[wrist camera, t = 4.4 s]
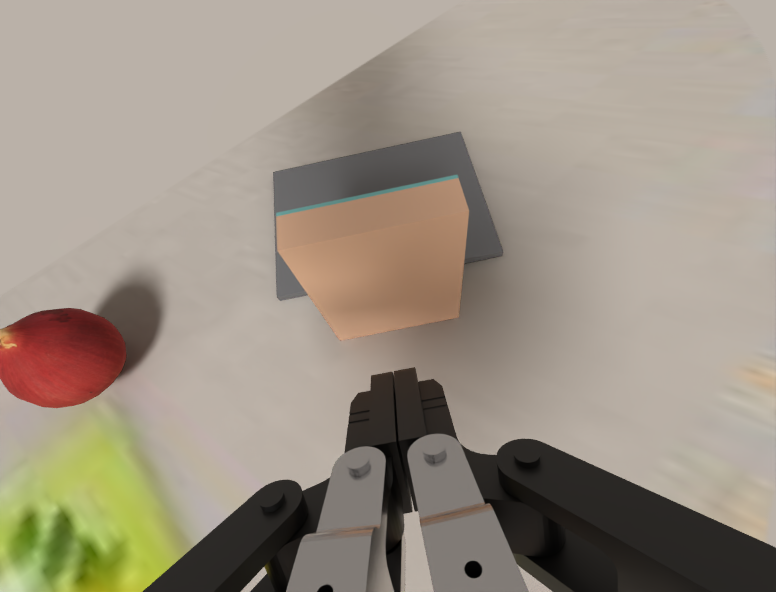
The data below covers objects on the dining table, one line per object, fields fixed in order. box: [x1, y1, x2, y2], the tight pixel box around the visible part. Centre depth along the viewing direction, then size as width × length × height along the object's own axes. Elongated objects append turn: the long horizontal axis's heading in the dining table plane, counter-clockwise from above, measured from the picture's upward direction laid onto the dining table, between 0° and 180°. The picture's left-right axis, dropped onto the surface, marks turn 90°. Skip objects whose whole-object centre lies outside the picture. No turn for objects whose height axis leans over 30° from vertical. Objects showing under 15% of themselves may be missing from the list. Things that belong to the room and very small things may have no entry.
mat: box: [273, 132, 503, 301], centre depth 30 cm, size 16×12×1 cm
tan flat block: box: [276, 175, 469, 341], centre depth 21 cm, size 8×2×11 cm, turn 99°
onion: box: [0, 308, 126, 408], centre depth 23 cm, size 6×6×8 cm
